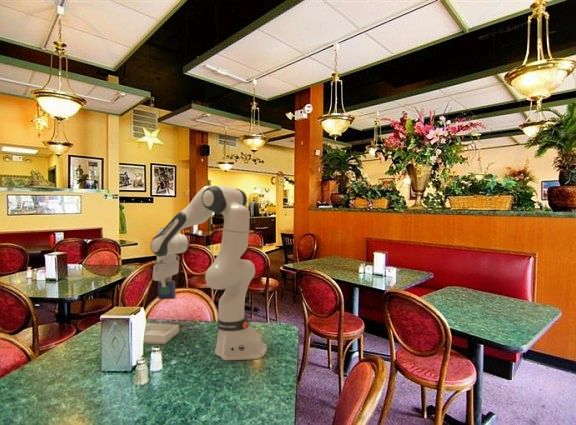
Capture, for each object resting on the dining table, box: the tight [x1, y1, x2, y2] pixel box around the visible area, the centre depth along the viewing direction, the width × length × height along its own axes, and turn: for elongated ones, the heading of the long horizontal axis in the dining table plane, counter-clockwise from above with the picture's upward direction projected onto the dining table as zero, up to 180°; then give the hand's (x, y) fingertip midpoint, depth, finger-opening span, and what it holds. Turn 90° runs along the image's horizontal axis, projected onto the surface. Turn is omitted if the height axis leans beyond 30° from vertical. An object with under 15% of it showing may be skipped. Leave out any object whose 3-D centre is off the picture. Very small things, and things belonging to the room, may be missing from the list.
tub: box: [143, 323, 180, 345], centre depth 152 cm, size 16×14×4 cm
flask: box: [157, 278, 177, 300], centre depth 162 cm, size 9×3×11 cm, turn 83°
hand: (166, 285), depth 162 cm, fingers closed on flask, 3 cm apart
